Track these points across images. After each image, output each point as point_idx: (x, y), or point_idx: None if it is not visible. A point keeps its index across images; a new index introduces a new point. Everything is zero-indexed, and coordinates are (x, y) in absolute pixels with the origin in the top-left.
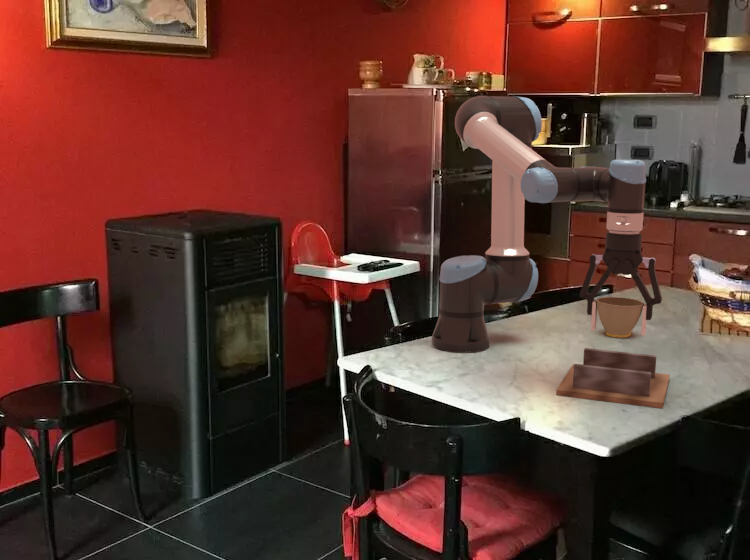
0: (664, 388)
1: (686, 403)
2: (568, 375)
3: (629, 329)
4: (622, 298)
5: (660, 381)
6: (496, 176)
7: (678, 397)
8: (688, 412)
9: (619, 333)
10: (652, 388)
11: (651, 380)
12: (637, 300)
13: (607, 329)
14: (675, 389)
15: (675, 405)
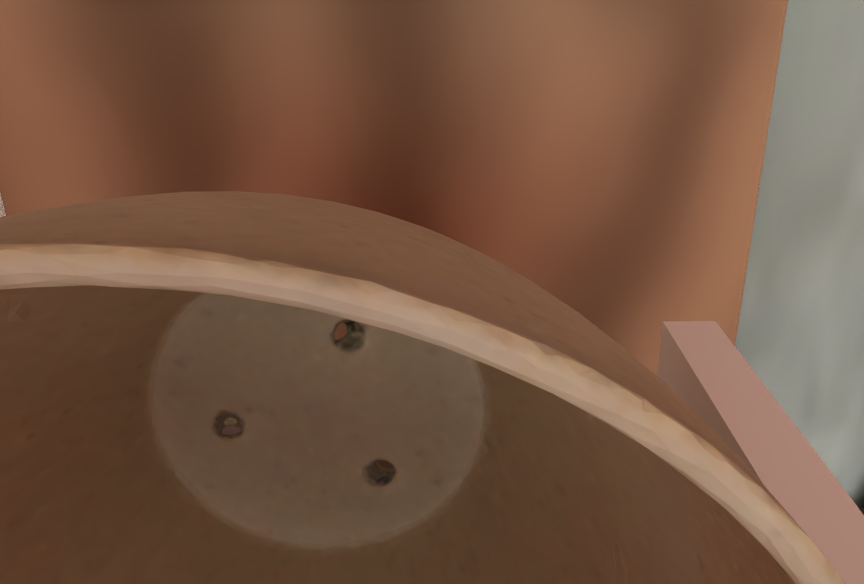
0: (743, 205)
1: (855, 334)
2: (15, 170)
3: (497, 567)
4: (78, 280)
5: (725, 20)
6: None
7: (821, 231)
8: (840, 482)
9: (371, 557)
10: (656, 238)
11: (652, 21)
12: (734, 509)
13: (198, 566)
14: (825, 39)
15: (781, 396)
